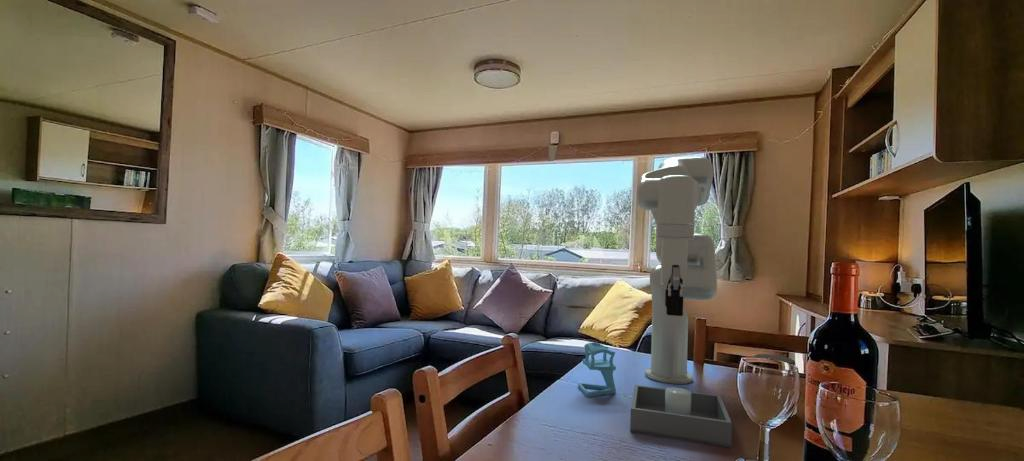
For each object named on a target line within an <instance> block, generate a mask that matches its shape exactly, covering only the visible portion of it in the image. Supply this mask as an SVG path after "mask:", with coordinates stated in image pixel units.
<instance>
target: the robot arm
mask: <svg viewBox="0 0 1024 461" xmlns="http://www.w3.org/2000/svg"><path fill="white" fill-rule="evenodd" d="M713 179H714V169H713V165H712V163H711V161H710V159H708V158H707V157H704V156H683V157H679V156H677V157H676V156H675V157H670V158H666V159H665V160H663V161H662V162H661V163H660V164H659V165H658V168H657V169H654V170H651V171H648V172H646V173H643V174H642V175H641V177H640V179H639V181H638V185H637V189H636V199H637V200H636V201H637V204H638V205H639V207H640V208H641V209H642V210H645V211H650V212H651V215H652V216H653V218H654V219H653V220H654V222H655V226H656V229H655V255H656V259H657V261H658V262H659V263H660V264H657V265H655V266H653V267H652V269H651V270H650V273H649V285H650V294H651V308H652V310H651V342H650V343H651V348H650V350H651V351H650V367H648V368H646V369H645V370H644V375H645V376H646V377H647V378H648V379H650V380H652V381H656V382H660V383H665V384H673V385H674V384H675V385H683V384H689V383H691V382H693V381H694V379H693V374H691V373H690V372H688V336H689V335H688V333H689V330H688V329H689V327H688V326H689V316H688V313H687V311H686V309H685V308H684V300H691V301H692V300H693V301H710V300H713V299H714V298H715V296H716V295H717V290H718V276H717V275H718V274H717V264H716V262H717V261H716V249H715V243H714V241H713V239H712V237H711V236H710V235H708V234H704V233H695V209H696V208H697V207H699V206H700V207H702V206H704V205H706V204H707V203H708V201H709V198H710V194H711V189H712V183H713Z"/></svg>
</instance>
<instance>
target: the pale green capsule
mask: <svg viewBox="0 0 1024 461" xmlns="http://www.w3.org/2000/svg"><path fill="white" fill-rule="evenodd" d="M665 389H666V390H665V412H668V413H676V414H683V415H690V416H691V392H692V391H690V390H688V389H685V388H682V387H673V386H671V387H666V388H665Z"/></svg>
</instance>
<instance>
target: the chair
mask: <svg viewBox="0 0 1024 461" xmlns="http://www.w3.org/2000/svg"><path fill="white" fill-rule="evenodd" d="M584 351H585V358H583V359H582V364H584V365H585V366H586V367H587V368H588V369H589V370H590V371H600V373H601V375H602V377H603V379H604V382H605V384H595V383H586V382H579V383H577V387H578V388H579V390H580V391H581V392H582V393H583V395H584V396H586V397H587V398H589V397H597V396H604V395H613V394H617V389H616V386H615V381H614V380H615V379H614V372H615V371H616V370H617V368H616V367H617V365H615V364H614V363H613V362H614V360H613V359H614V357H615V354H616V351H612V350H610V349H609V346H604V345H603V344H602V343H600V342H599V343H598V342H594V341H593V342H588V343H586V344H585V345H584ZM589 353H590V354H589ZM601 353H603V355H602V359H595V356H597V355H598V354H601ZM607 354H608V355H610V357H609V359H607ZM590 357H591V359H590ZM586 388H587V389H594V391H588V390H587V389H586ZM595 389H598V390H595Z"/></svg>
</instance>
